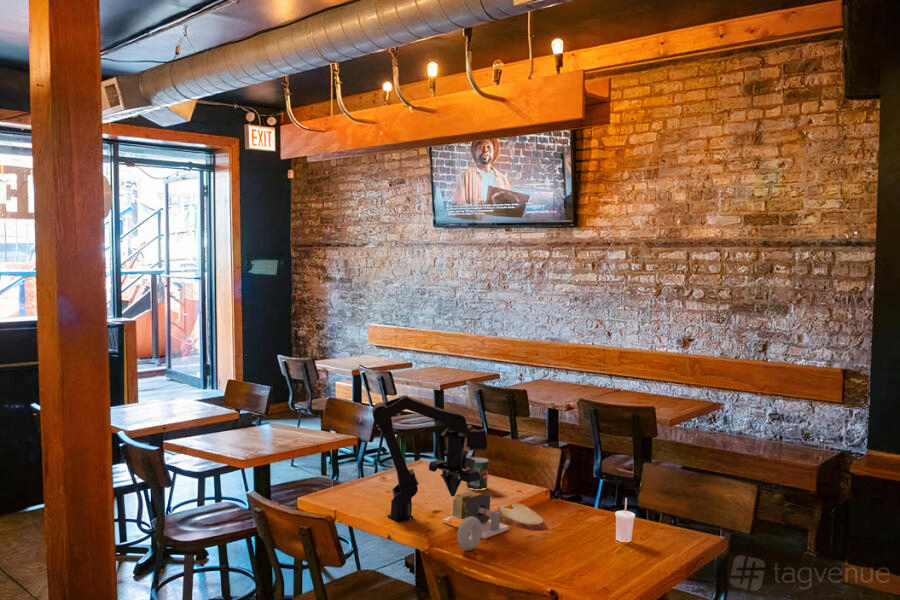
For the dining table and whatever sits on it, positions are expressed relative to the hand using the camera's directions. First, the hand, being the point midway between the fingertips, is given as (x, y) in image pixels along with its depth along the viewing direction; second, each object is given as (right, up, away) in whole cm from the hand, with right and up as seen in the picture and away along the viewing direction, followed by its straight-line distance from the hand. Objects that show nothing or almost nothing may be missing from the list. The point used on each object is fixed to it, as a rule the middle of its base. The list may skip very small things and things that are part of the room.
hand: (452, 496), depth 253 cm
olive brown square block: (+4, -6, -4) cm, 8 cm away
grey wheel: (+5, -9, -27) cm, 29 cm away
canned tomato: (+9, -6, +35) cm, 36 cm away
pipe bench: (+7, -8, -7) cm, 13 cm away
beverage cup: (+54, -11, -14) cm, 57 cm away
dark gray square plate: (+8, -7, -7) cm, 13 cm away
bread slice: (+23, -9, +3) cm, 25 cm away
